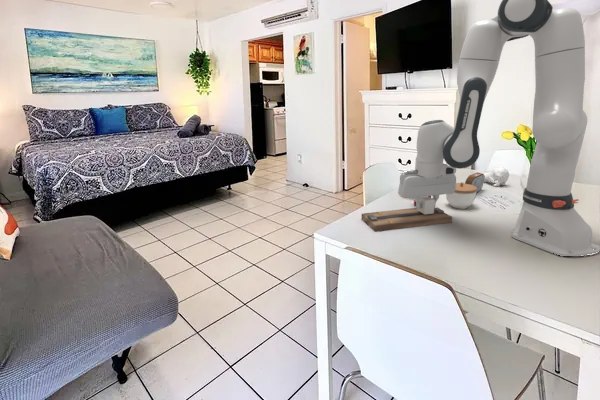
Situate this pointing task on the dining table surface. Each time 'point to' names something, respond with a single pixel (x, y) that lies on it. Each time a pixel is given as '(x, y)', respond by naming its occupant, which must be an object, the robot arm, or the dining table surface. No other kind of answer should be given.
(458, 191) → the lidded jar
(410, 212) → the fader board
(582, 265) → the dining table surface
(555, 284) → the dining table surface
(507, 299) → the dining table surface
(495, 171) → the white irregular lump
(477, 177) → the tin
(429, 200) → the fader tab
